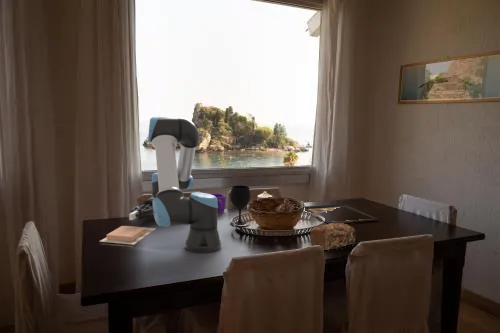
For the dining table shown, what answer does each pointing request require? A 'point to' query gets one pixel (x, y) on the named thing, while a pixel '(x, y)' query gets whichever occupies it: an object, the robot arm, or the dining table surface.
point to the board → (148, 230)
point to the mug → (220, 202)
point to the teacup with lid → (264, 195)
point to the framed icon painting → (330, 208)
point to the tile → (126, 233)
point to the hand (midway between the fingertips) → (130, 217)
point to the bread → (332, 235)
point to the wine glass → (240, 199)
